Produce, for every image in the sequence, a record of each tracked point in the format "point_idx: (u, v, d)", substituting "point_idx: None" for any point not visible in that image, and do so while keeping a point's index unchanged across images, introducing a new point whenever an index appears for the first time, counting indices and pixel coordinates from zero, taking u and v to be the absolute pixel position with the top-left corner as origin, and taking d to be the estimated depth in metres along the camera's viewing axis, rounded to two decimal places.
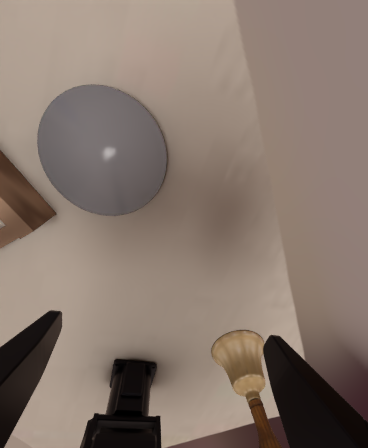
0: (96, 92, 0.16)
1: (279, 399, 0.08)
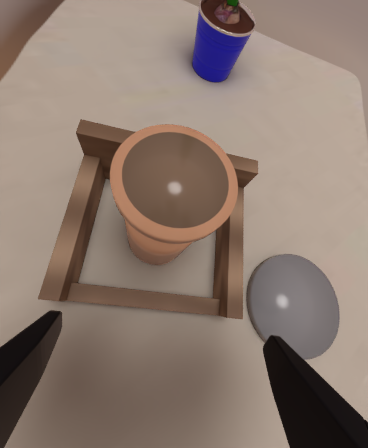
0: (312, 267, 0.25)
1: (279, 399, 0.08)
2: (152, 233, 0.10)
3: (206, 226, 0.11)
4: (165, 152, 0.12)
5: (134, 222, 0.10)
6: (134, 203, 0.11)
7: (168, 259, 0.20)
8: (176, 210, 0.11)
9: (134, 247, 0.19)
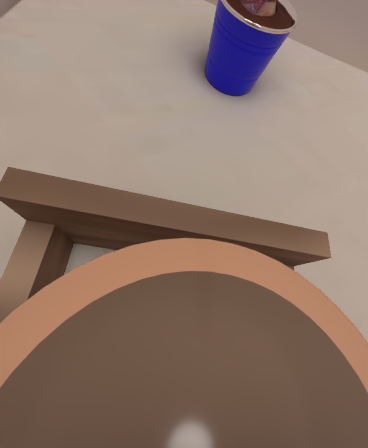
0: None
1: None
2: None
3: None
4: (151, 381, 0.03)
5: None
6: None
7: None
8: None
9: None
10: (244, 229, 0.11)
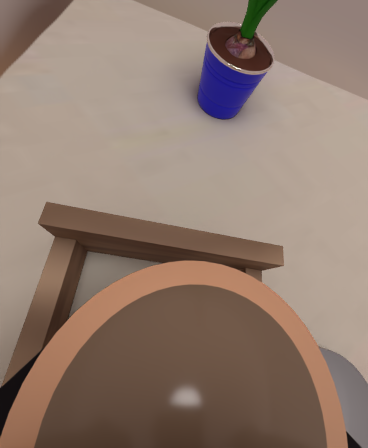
0: (345, 365, 0.20)
1: None
2: None
3: None
4: (165, 356, 0.05)
5: None
6: None
7: None
8: None
9: None
10: (217, 245, 0.15)
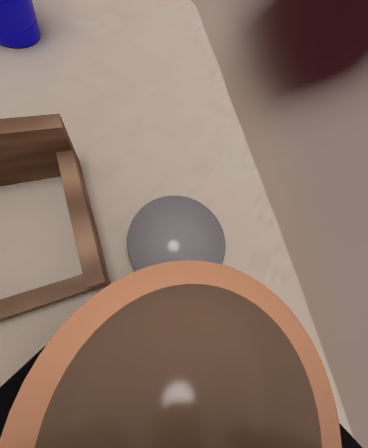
0: (186, 201, 0.25)
1: None
2: None
3: None
4: (165, 354, 0.05)
5: None
6: None
7: None
8: None
9: None
10: None
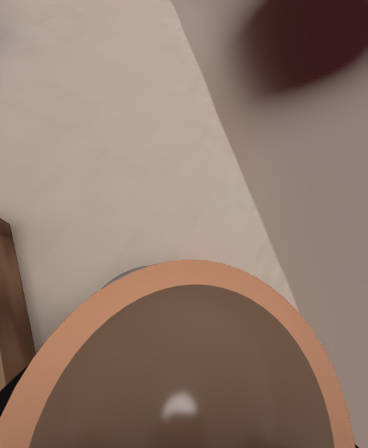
0: None
1: None
2: None
3: None
4: (167, 359, 0.04)
5: None
6: None
7: None
8: None
9: None
10: None
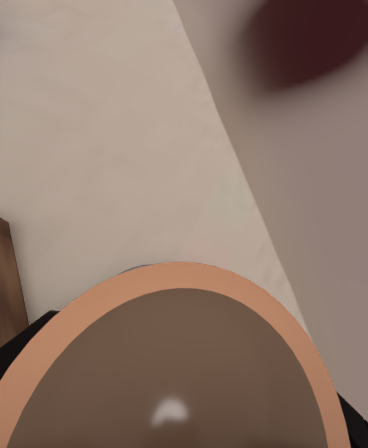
0: None
1: None
2: None
3: None
4: (151, 368, 0.04)
5: None
6: None
7: None
8: None
9: None
10: None
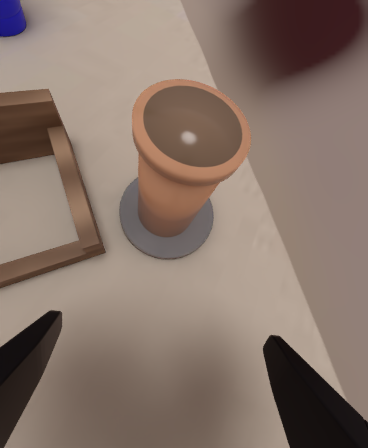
0: None
1: (279, 399, 0.08)
2: (171, 168, 0.11)
3: (221, 167, 0.12)
4: (183, 102, 0.13)
5: (154, 158, 0.11)
6: (154, 142, 0.11)
7: (177, 227, 0.20)
8: (193, 151, 0.12)
9: (145, 212, 0.19)
10: None
